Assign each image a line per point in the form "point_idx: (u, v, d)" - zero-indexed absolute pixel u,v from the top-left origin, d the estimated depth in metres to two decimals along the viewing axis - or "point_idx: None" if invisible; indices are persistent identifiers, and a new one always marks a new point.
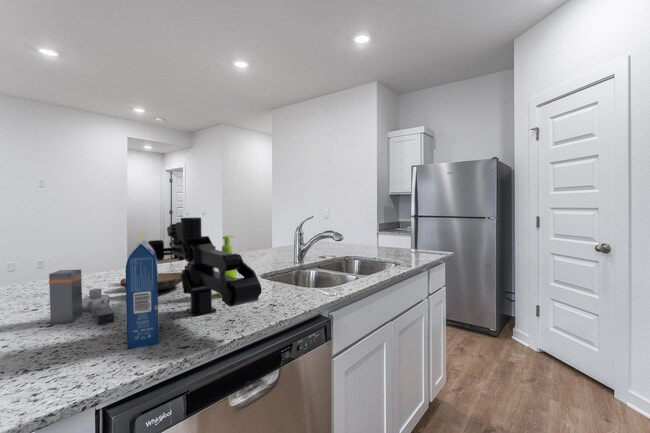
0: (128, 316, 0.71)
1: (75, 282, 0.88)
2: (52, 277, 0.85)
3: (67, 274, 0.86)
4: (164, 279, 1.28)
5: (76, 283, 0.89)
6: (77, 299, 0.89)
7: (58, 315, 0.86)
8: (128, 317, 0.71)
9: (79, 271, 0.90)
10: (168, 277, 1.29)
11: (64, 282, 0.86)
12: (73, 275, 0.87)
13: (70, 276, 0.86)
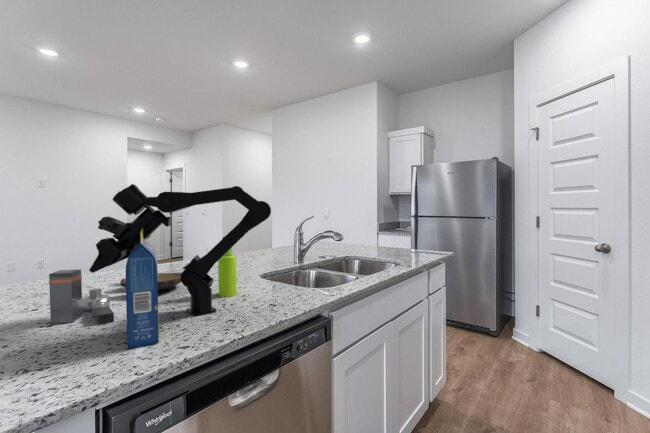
0: (128, 316, 0.71)
1: (75, 282, 0.88)
2: (52, 277, 0.85)
3: (67, 274, 0.86)
4: (164, 279, 1.28)
5: (76, 283, 0.89)
6: (77, 299, 0.89)
7: (58, 315, 0.86)
8: (128, 317, 0.71)
9: (79, 271, 0.90)
10: (168, 277, 1.29)
11: (64, 282, 0.86)
12: (73, 275, 0.87)
13: (70, 276, 0.86)
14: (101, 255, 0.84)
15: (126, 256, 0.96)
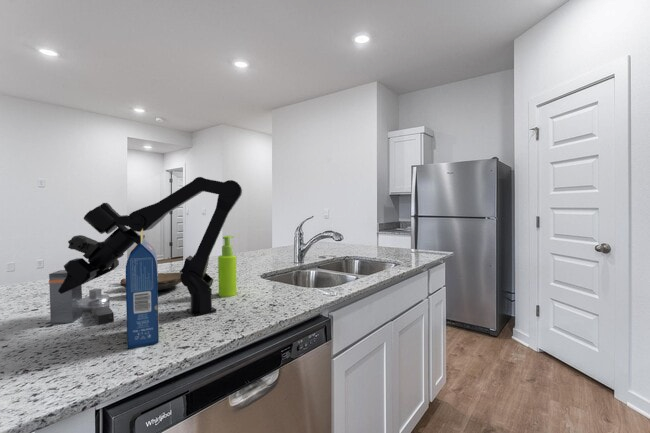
0: (128, 316, 0.71)
1: None
2: (52, 277, 0.85)
3: None
4: (164, 279, 1.28)
5: None
6: (77, 299, 0.89)
7: (58, 315, 0.86)
8: (128, 317, 0.71)
9: None
10: (168, 277, 1.29)
11: None
12: None
13: None
14: (70, 276, 0.83)
15: (99, 274, 0.94)
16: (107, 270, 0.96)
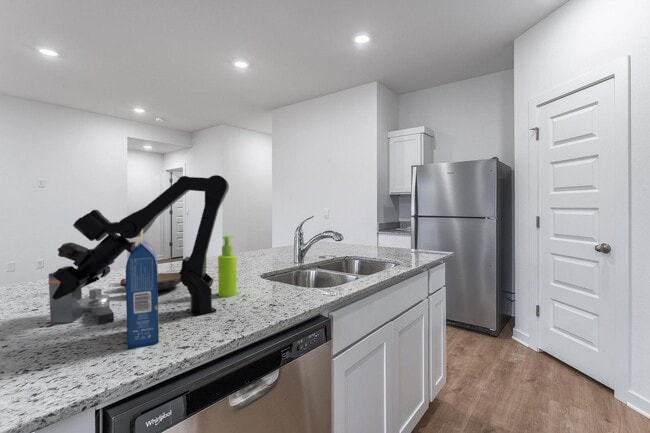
0: (128, 316, 0.71)
1: None
2: (51, 277, 0.85)
3: None
4: (164, 279, 1.28)
5: None
6: (77, 299, 0.89)
7: (58, 315, 0.86)
8: (128, 317, 0.71)
9: None
10: (168, 277, 1.29)
11: None
12: None
13: None
14: None
15: (87, 283, 0.92)
16: (95, 278, 0.94)
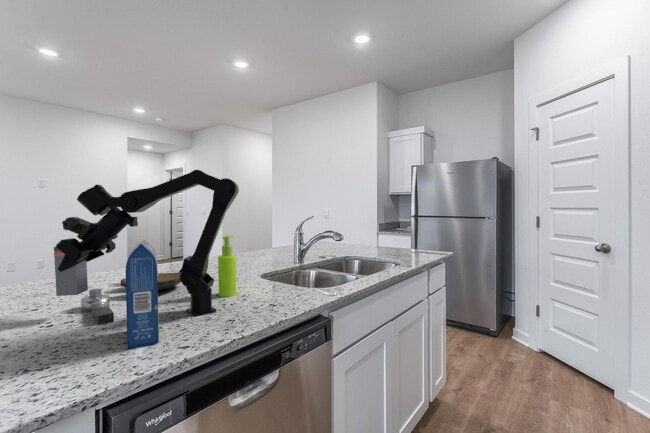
0: (128, 316, 0.71)
1: None
2: (57, 250, 0.87)
3: None
4: (164, 279, 1.28)
5: None
6: (82, 272, 0.91)
7: (63, 287, 0.88)
8: (128, 317, 0.71)
9: None
10: (168, 277, 1.29)
11: None
12: None
13: None
14: None
15: (91, 257, 0.94)
16: (100, 253, 0.95)
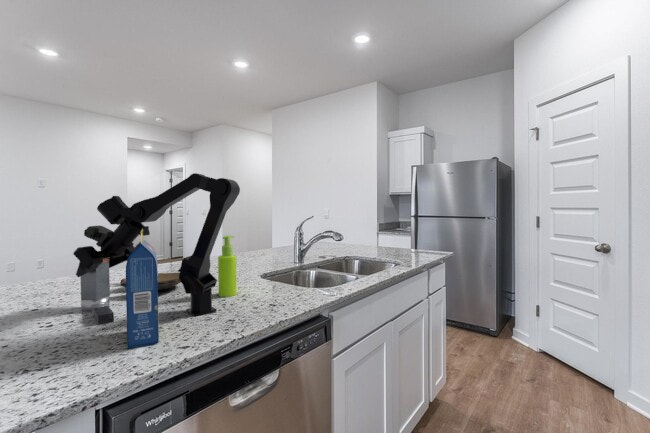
0: (128, 316, 0.71)
1: (101, 264, 0.98)
2: None
3: None
4: (164, 279, 1.28)
5: (102, 265, 0.98)
6: (103, 280, 0.99)
7: (86, 292, 0.96)
8: (128, 317, 0.71)
9: None
10: (168, 277, 1.29)
11: None
12: None
13: None
14: None
15: (117, 262, 1.03)
16: (125, 258, 1.04)
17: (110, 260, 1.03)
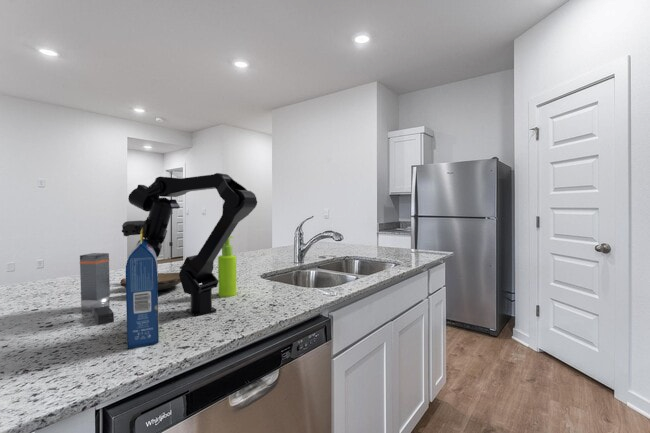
0: (128, 316, 0.71)
1: (101, 264, 0.98)
2: (82, 258, 0.96)
3: (92, 256, 0.96)
4: (164, 279, 1.28)
5: (102, 265, 0.98)
6: (103, 280, 0.99)
7: (86, 292, 0.96)
8: (128, 317, 0.71)
9: (106, 255, 1.00)
10: (168, 277, 1.29)
11: (90, 263, 0.96)
12: (98, 258, 0.97)
13: (95, 258, 0.96)
14: None
15: None
16: None
17: None
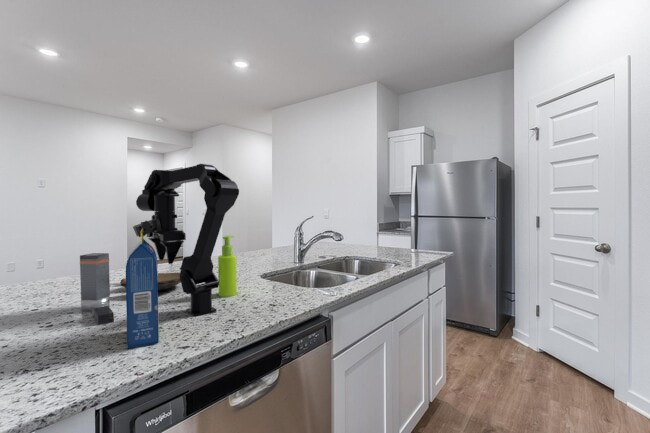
0: (128, 316, 0.71)
1: (101, 264, 0.98)
2: (82, 258, 0.96)
3: (92, 256, 0.96)
4: (164, 279, 1.28)
5: (102, 265, 0.98)
6: (103, 280, 0.99)
7: (86, 292, 0.96)
8: (128, 317, 0.71)
9: (106, 255, 1.00)
10: (168, 277, 1.29)
11: (90, 263, 0.96)
12: (98, 258, 0.97)
13: (95, 258, 0.96)
14: (169, 247, 0.98)
15: None
16: None
17: (160, 247, 1.06)
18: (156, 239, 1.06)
